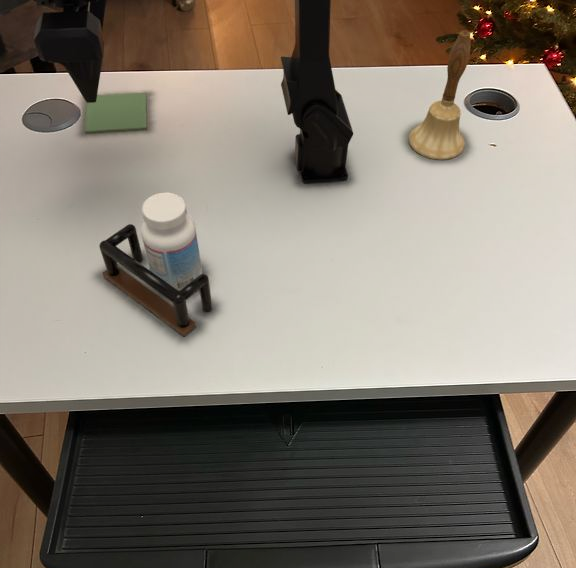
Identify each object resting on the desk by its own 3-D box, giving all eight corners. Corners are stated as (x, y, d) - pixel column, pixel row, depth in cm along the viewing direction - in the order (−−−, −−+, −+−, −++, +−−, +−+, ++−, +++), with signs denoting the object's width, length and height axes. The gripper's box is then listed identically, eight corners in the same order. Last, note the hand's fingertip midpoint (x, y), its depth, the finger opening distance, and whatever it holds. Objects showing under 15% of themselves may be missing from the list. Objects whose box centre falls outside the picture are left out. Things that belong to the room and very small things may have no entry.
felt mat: (146, 94, 95) (146, 92, 95) (146, 129, 90) (146, 127, 90) (88, 98, 94) (87, 95, 94) (85, 133, 89) (84, 131, 89)
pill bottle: (203, 260, 76) (194, 187, 66) (201, 297, 73) (191, 225, 63) (155, 260, 76) (138, 187, 66) (150, 298, 72) (132, 226, 63)
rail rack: (136, 253, 76) (127, 218, 72) (216, 309, 72) (213, 276, 67) (103, 277, 74) (91, 242, 69) (184, 337, 69) (177, 304, 65)
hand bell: (475, 152, 89) (511, 41, 76) (425, 165, 87) (453, 54, 74) (446, 120, 93) (475, 10, 80) (398, 132, 91) (420, 21, 78)
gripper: (-21, -114, 63) (30, 40, 76) (-51, -30, 53) (13, 131, 66) (89, -116, 64) (120, 36, 77) (80, -34, 54) (118, 125, 67)
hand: (93, 79), depth 71 cm, fingers open, 9 cm apart
